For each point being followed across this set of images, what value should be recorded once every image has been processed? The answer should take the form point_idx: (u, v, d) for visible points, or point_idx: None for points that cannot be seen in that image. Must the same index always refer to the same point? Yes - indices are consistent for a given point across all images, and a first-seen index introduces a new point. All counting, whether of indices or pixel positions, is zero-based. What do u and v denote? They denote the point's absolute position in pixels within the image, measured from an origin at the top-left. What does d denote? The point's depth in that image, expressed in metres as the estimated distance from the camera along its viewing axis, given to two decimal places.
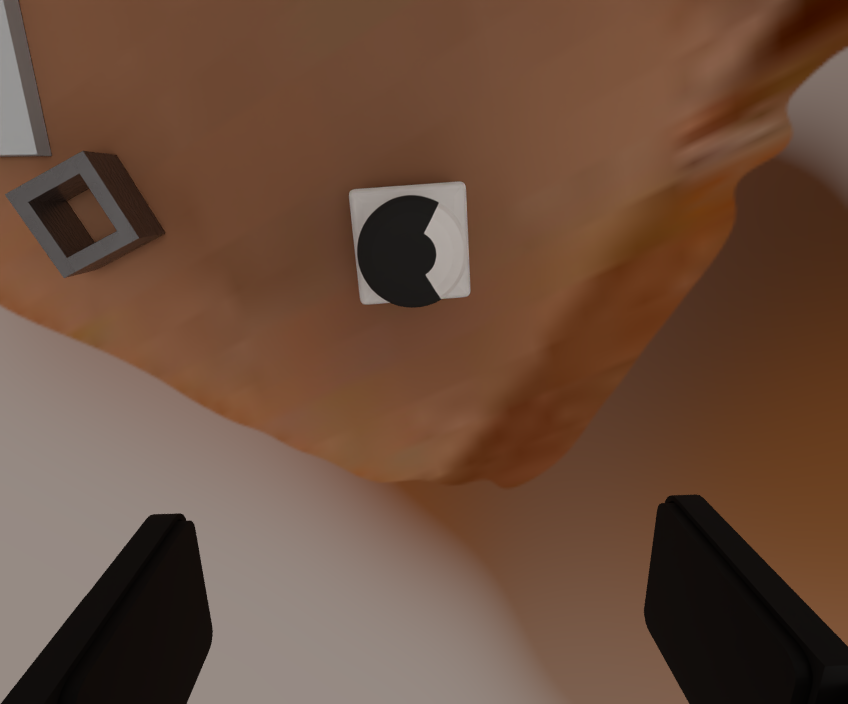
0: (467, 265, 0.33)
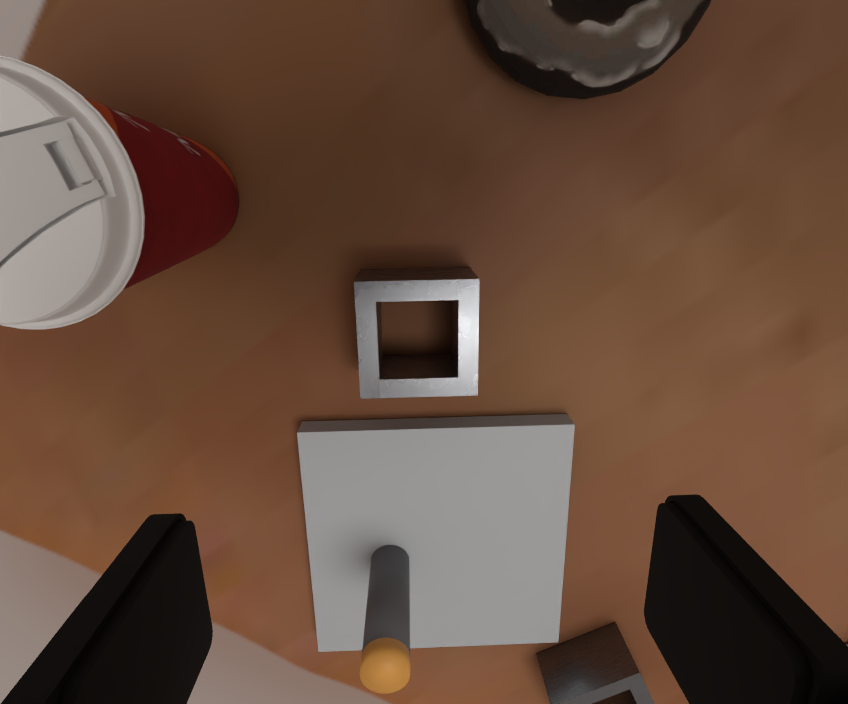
0: None
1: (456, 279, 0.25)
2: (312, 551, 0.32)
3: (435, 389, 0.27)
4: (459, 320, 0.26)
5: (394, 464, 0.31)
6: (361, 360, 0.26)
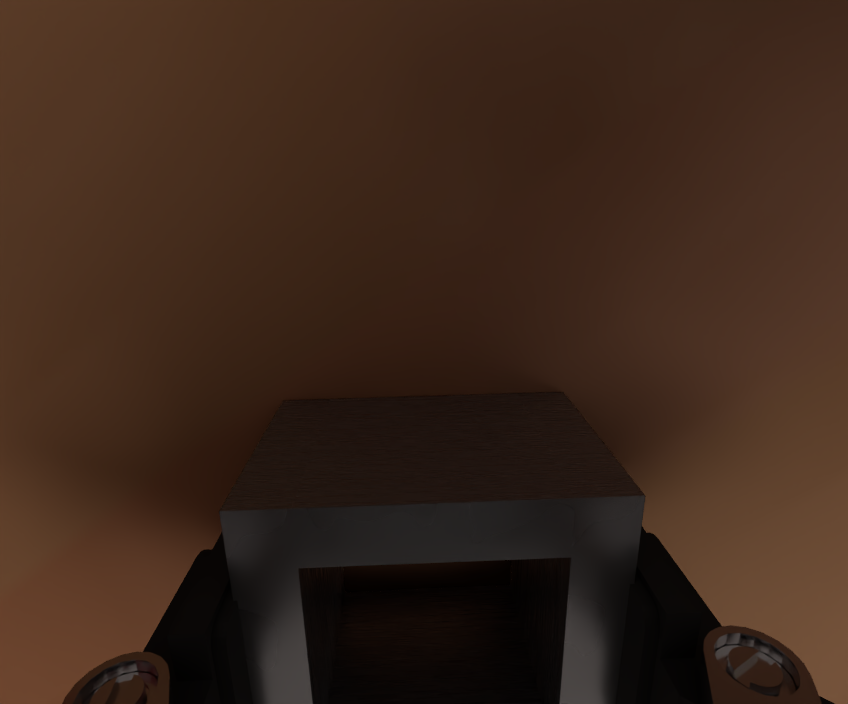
0: None
1: (566, 495, 0.07)
2: None
3: None
4: (570, 614, 0.08)
5: None
6: None
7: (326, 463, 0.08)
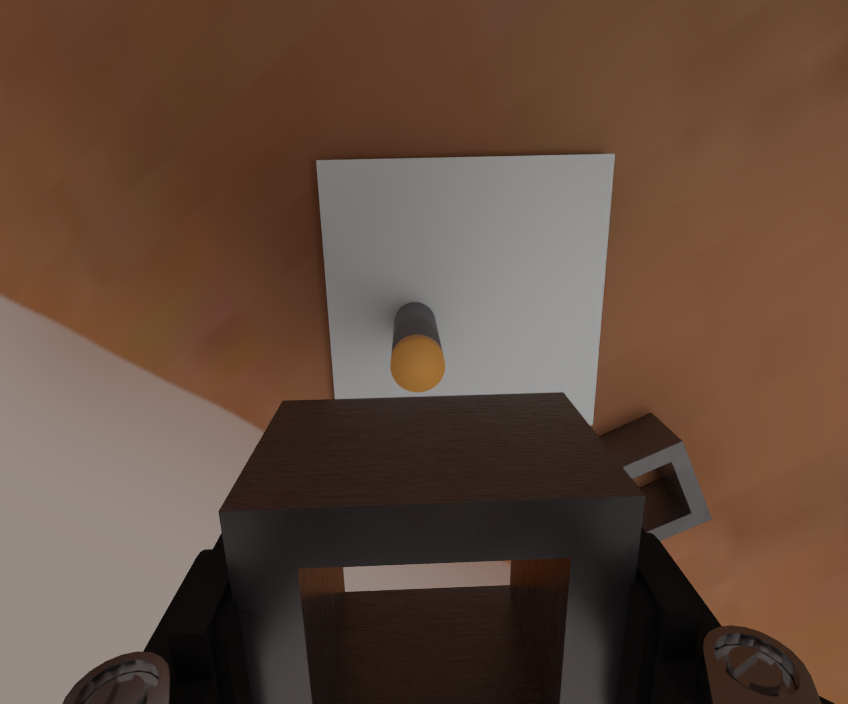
0: None
1: (566, 495, 0.07)
2: (331, 309, 0.30)
3: None
4: (569, 614, 0.08)
5: (420, 201, 0.28)
6: None
7: (326, 463, 0.08)
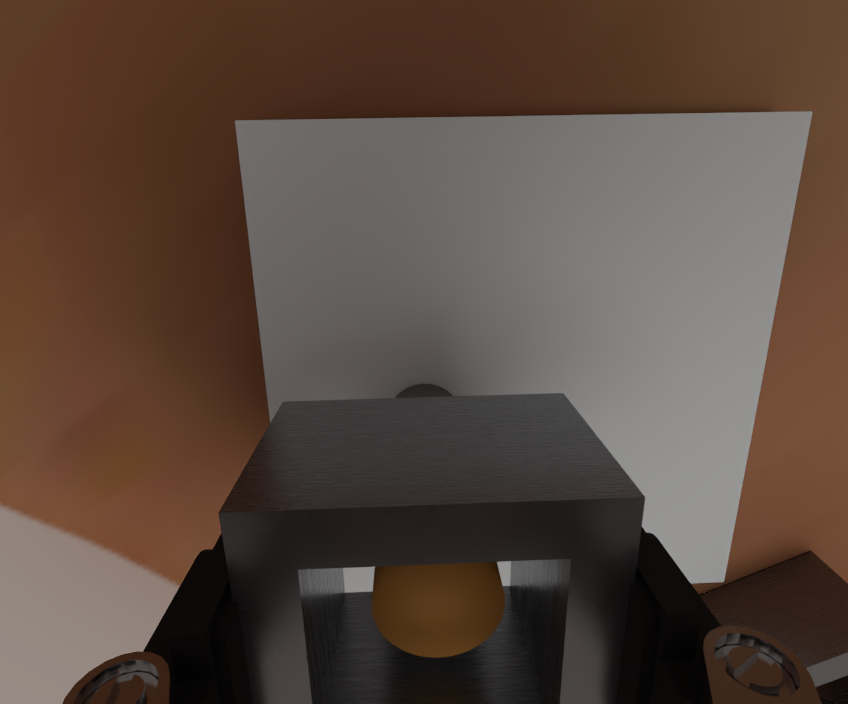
0: None
1: (567, 496, 0.07)
2: (274, 396, 0.17)
3: None
4: (569, 615, 0.08)
5: (437, 202, 0.15)
6: None
7: (326, 464, 0.08)
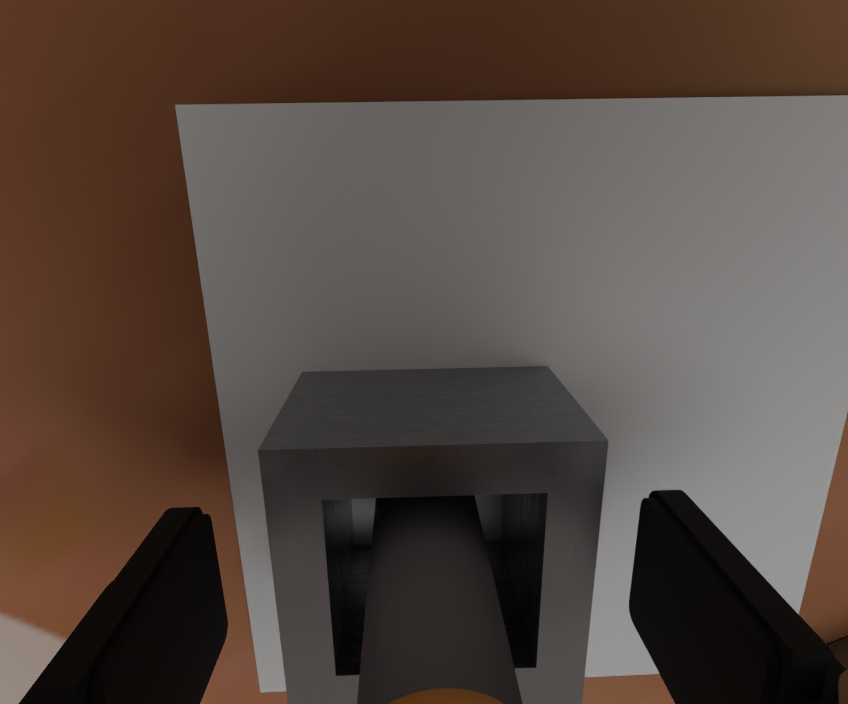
0: None
1: (544, 440, 0.09)
2: (235, 454, 0.13)
3: None
4: (547, 542, 0.10)
5: (440, 211, 0.12)
6: (287, 636, 0.10)
7: (343, 417, 0.10)
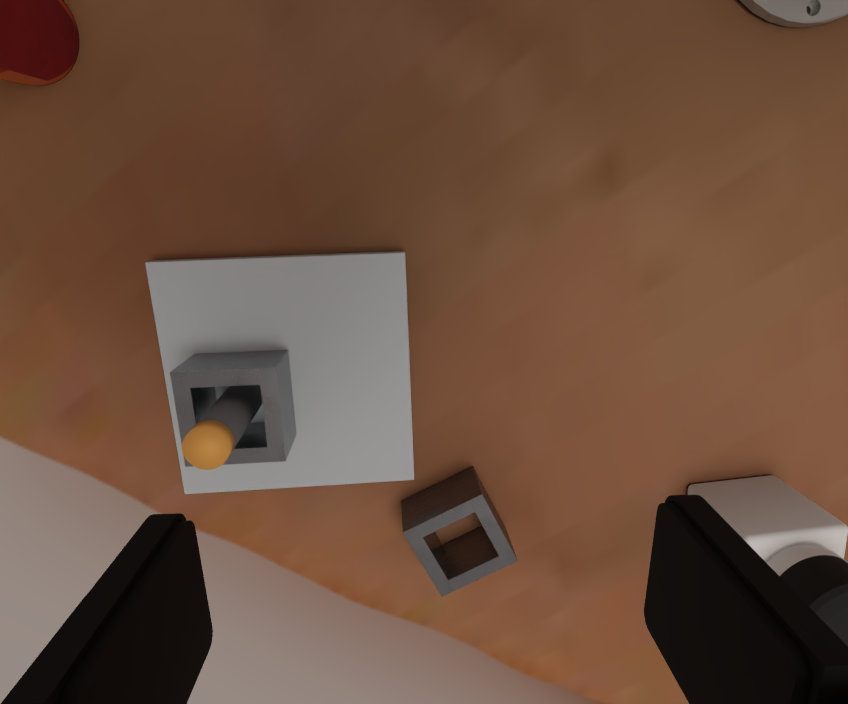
0: None
1: (257, 368, 0.30)
2: (170, 386, 0.34)
3: (249, 457, 0.32)
4: (263, 401, 0.31)
5: (240, 294, 0.33)
6: (182, 435, 0.31)
7: (200, 364, 0.31)
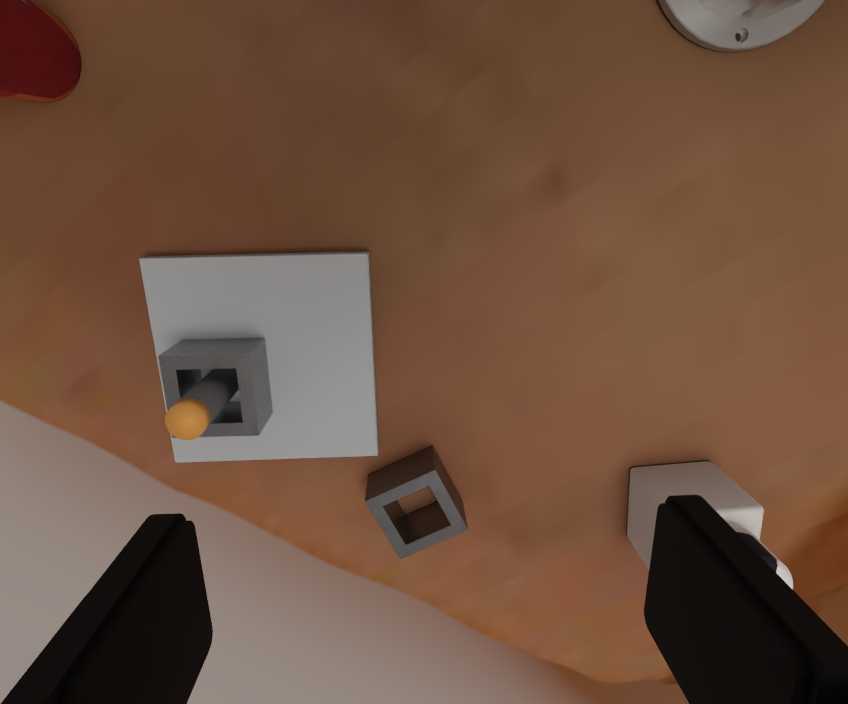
0: None
1: (233, 353, 0.35)
2: None
3: (227, 431, 0.36)
4: (238, 382, 0.35)
5: (222, 288, 0.37)
6: None
7: (185, 349, 0.36)
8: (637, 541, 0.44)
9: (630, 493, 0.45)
